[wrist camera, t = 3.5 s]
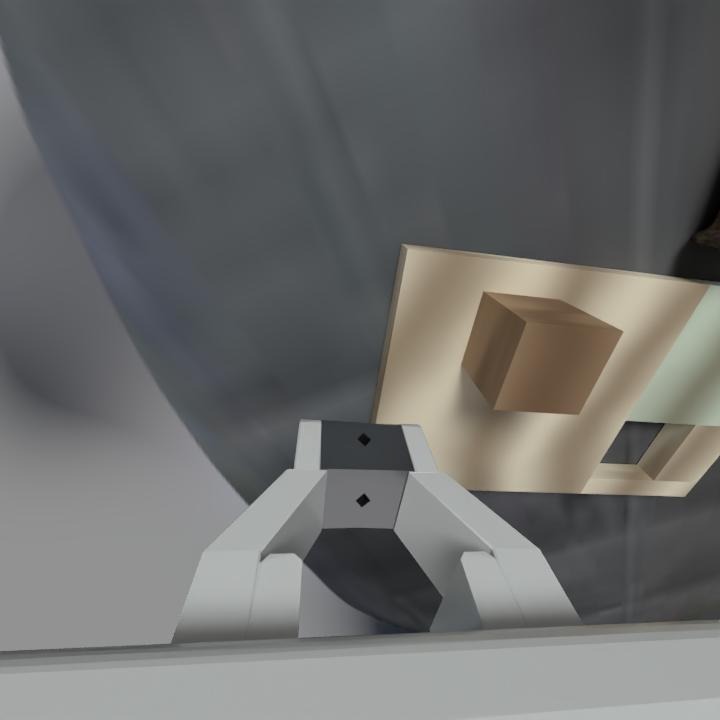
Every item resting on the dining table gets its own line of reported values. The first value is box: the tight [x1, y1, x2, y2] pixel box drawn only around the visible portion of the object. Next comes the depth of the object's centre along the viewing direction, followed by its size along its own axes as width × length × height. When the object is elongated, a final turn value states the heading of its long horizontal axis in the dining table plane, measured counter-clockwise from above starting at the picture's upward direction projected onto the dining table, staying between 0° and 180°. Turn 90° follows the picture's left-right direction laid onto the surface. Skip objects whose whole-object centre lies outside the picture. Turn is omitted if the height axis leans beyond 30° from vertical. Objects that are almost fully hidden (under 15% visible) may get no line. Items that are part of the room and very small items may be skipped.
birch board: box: [371, 244, 720, 497], centre depth 20 cm, size 24×15×2 cm, turn 83°
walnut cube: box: [461, 291, 624, 415], centre depth 15 cm, size 4×4×4 cm
